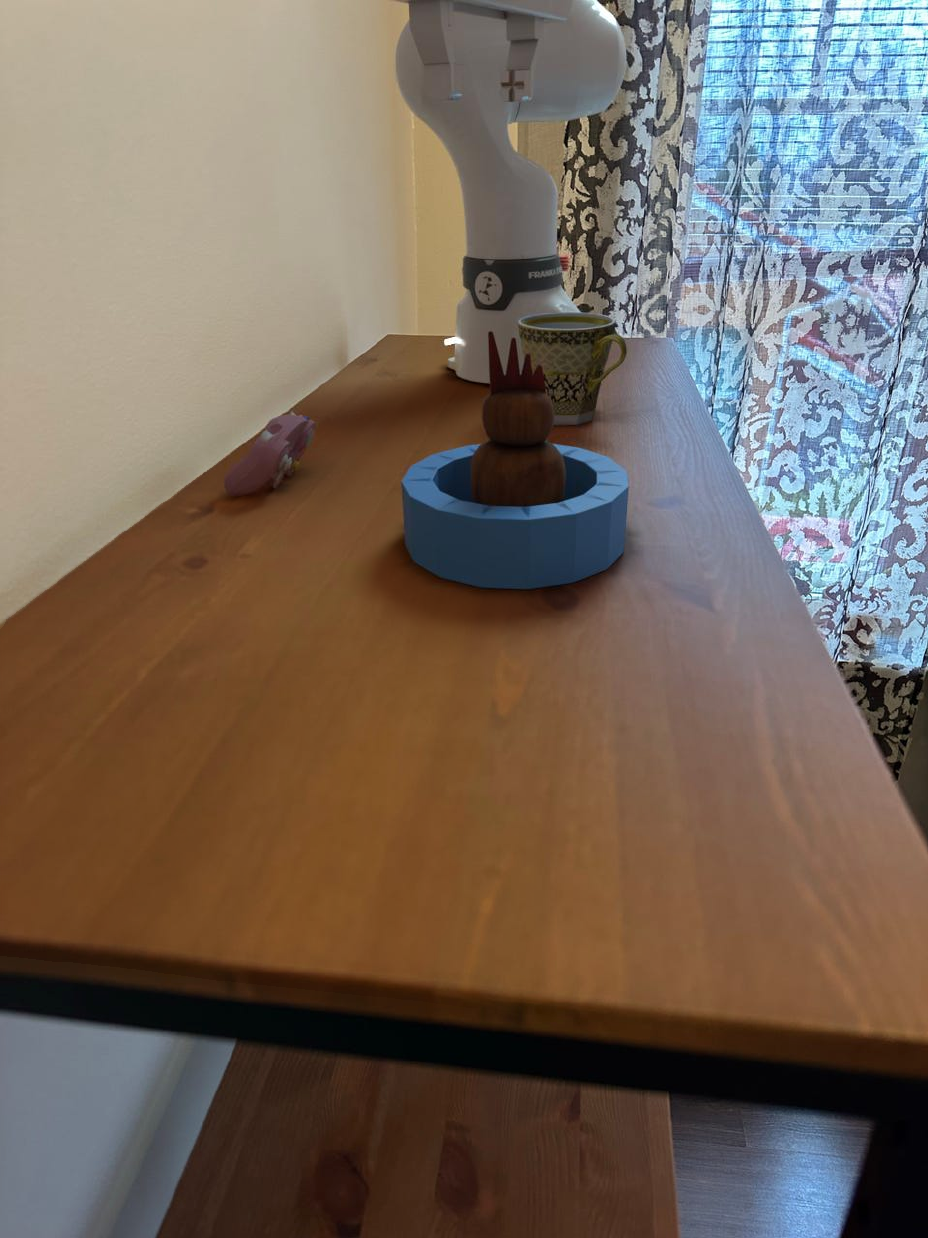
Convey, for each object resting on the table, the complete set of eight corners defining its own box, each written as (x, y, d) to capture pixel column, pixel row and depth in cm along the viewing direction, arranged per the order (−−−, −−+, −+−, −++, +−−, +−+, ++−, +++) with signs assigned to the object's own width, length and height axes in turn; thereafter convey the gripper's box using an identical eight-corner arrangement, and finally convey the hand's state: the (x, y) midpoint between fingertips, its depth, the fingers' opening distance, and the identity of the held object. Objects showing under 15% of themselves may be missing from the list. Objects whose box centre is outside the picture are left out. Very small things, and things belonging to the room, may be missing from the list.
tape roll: (475, 488, 71) (473, 431, 69) (653, 521, 64) (659, 459, 62) (364, 559, 60) (358, 493, 57) (568, 609, 52) (571, 536, 50)
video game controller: (265, 517, 71) (290, 447, 67) (217, 492, 71) (239, 421, 67) (306, 478, 79) (331, 414, 76) (263, 455, 79) (286, 390, 75)
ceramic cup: (498, 416, 91) (498, 320, 86) (562, 399, 96) (565, 308, 91) (586, 442, 82) (591, 337, 77) (651, 422, 87) (659, 322, 82)
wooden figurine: (461, 549, 61) (455, 336, 53) (486, 520, 65) (483, 320, 58) (552, 560, 59) (558, 341, 51) (570, 529, 63) (578, 324, 56)
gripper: (515, -142, 55) (514, 104, 62) (320, -239, 40) (347, 101, 47) (605, -159, 52) (592, 100, 59) (431, -271, 37) (442, 96, 44)
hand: (482, 101), depth 53 cm, fingers open, 8 cm apart
